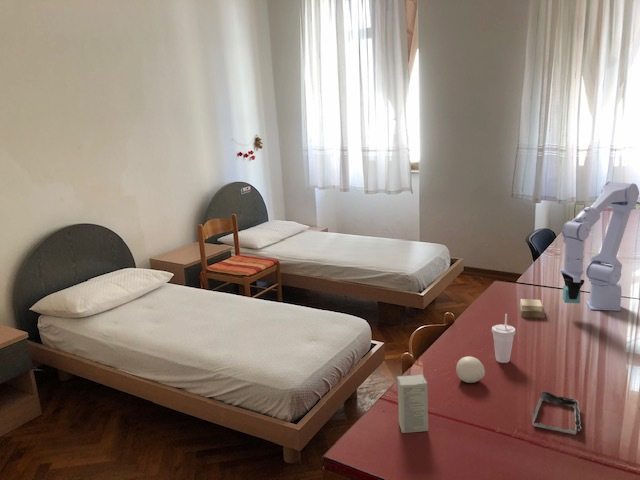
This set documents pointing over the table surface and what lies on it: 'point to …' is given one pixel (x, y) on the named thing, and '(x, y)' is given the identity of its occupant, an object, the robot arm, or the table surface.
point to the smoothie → (503, 341)
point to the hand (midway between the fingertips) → (571, 296)
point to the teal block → (566, 296)
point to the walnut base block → (532, 313)
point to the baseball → (470, 369)
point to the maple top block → (531, 305)
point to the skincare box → (412, 403)
